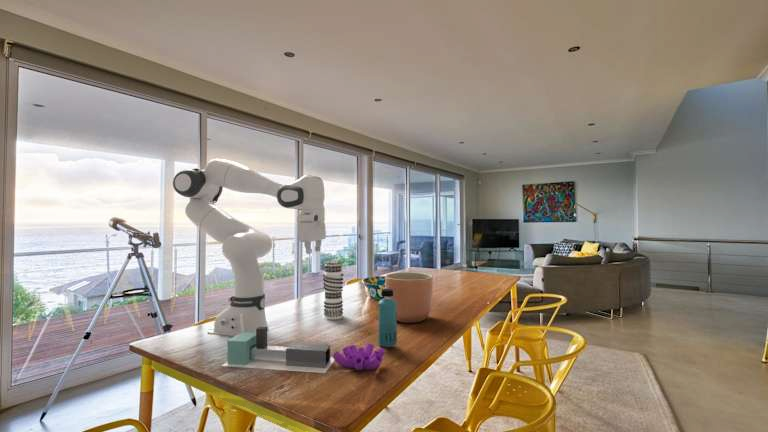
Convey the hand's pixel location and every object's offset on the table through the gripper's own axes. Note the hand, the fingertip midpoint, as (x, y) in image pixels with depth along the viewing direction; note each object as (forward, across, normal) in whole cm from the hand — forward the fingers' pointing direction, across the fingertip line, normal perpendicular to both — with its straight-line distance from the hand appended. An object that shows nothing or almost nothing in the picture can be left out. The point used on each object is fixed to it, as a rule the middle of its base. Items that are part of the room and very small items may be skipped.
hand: (313, 252), depth 140 cm
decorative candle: (+31, -22, +1) cm, 38 cm away
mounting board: (+31, +31, +1) cm, 44 cm away
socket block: (+30, +31, -11) cm, 45 cm away
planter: (+31, -23, +35) cm, 52 cm away
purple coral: (+31, +30, +26) cm, 51 cm away
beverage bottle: (+31, +12, +31) cm, 46 cm away
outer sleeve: (+30, +31, +10) cm, 44 cm away
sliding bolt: (+29, +31, -1) cm, 42 cm away
